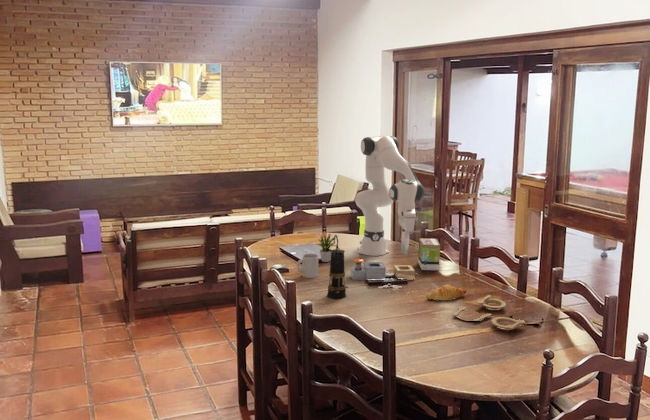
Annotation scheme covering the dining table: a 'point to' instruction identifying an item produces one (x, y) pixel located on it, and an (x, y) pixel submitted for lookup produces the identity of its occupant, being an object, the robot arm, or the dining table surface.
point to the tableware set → (494, 320)
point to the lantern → (337, 274)
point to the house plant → (325, 248)
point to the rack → (404, 272)
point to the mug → (309, 266)
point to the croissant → (446, 293)
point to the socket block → (374, 270)
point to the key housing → (358, 274)
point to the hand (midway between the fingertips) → (405, 236)
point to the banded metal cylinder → (404, 244)
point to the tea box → (429, 254)
